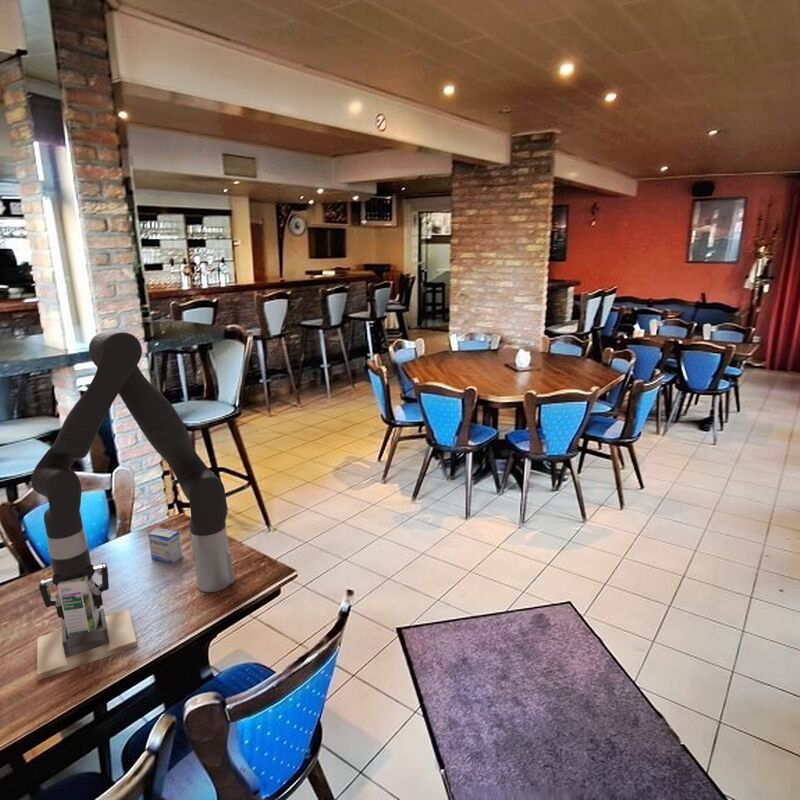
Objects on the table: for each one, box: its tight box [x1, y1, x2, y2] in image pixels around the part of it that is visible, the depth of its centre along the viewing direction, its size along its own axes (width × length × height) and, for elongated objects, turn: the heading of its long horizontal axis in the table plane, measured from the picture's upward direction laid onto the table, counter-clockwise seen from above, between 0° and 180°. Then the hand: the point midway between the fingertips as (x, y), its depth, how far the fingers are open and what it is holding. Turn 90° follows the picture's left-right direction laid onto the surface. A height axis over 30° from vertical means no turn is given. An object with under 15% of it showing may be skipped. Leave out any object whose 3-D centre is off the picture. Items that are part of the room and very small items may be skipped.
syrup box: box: [57, 575, 100, 639], centre depth 131 cm, size 6×6×14 cm
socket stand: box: [36, 608, 138, 681], centre depth 133 cm, size 20×14×6 cm
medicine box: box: [148, 527, 183, 564], centre depth 169 cm, size 8×4×9 cm, turn 73°
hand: (81, 612), depth 132 cm, fingers closed on syrup box, 6 cm apart
